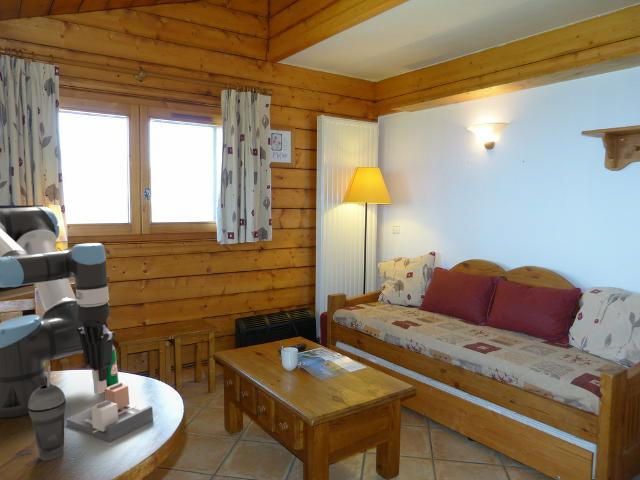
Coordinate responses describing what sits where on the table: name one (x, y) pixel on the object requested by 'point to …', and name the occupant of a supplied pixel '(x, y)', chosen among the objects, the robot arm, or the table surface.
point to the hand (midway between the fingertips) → (100, 391)
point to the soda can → (112, 370)
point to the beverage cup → (48, 419)
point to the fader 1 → (117, 395)
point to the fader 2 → (104, 415)
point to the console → (125, 424)
